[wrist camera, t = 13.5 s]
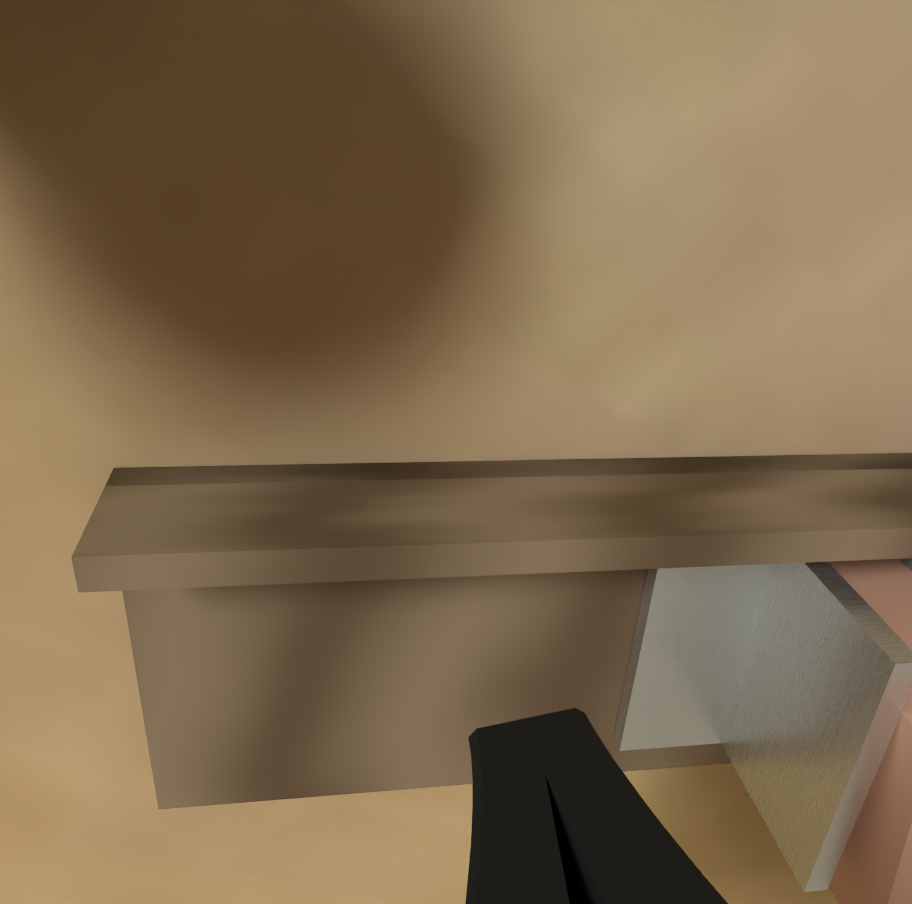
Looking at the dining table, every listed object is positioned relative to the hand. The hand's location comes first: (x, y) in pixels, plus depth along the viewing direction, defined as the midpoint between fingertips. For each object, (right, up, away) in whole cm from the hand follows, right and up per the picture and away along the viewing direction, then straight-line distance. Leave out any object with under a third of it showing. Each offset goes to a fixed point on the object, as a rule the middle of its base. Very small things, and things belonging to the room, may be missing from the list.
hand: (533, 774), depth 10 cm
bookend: (+6, -1, +12) cm, 13 cm away
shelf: (+3, -1, +12) cm, 12 cm away
